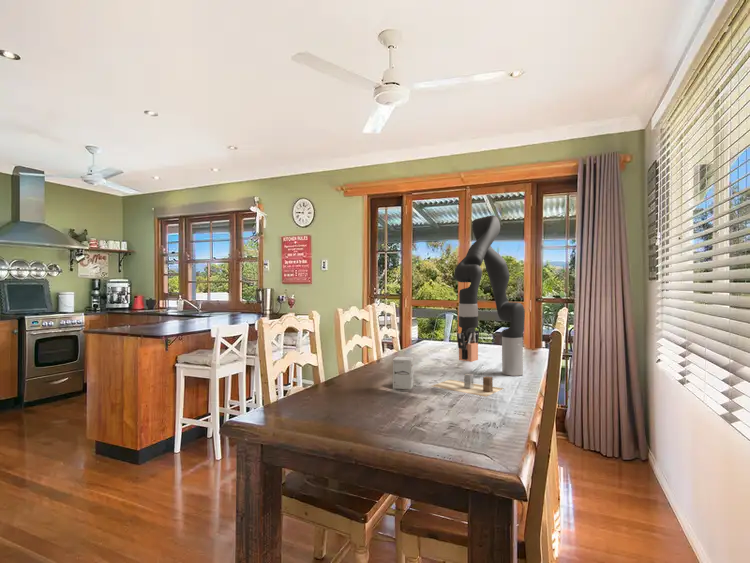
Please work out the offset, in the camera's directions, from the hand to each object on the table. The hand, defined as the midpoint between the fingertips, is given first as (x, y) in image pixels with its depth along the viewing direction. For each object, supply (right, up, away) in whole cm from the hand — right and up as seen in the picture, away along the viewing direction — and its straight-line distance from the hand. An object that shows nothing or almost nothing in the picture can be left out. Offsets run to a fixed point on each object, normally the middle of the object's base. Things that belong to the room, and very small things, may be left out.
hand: (468, 358), depth 163 cm
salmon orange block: (0, -1, 0) cm, 1 cm away
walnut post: (+6, -12, -5) cm, 14 cm away
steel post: (0, -12, 0) cm, 12 cm away
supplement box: (-26, -13, +2) cm, 29 cm away
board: (-1, -13, +1) cm, 13 cm away
